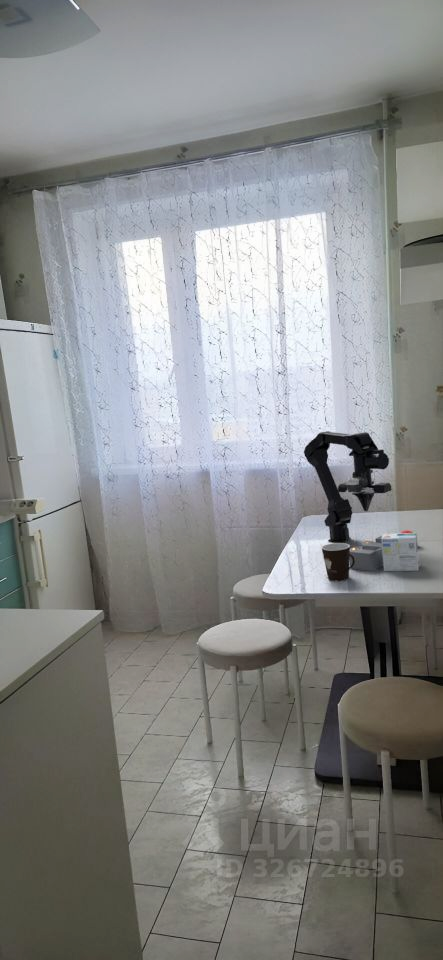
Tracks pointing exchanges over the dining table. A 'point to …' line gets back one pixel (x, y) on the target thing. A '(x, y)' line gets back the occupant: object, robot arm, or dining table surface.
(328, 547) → the coffee mug
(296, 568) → the dining table surface
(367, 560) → the mount
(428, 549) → the dining table surface
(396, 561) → the light bulb box
